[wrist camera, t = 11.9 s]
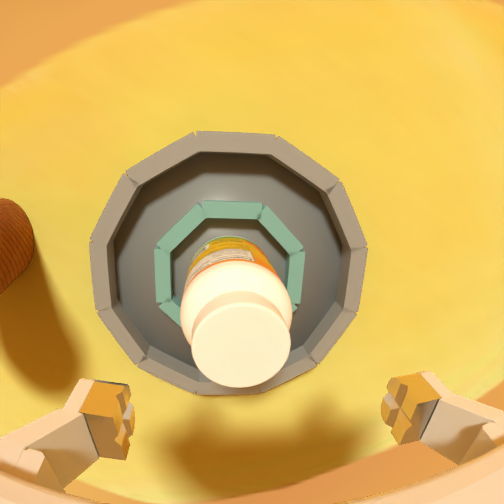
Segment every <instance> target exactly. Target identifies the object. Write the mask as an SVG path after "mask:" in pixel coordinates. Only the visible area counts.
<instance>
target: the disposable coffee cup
mask: <svg viewBox="0 0 504 504" xmlns="http://www.w3.org/2000/svg"><path fill="white" fill-rule="evenodd" d="M33 248H34V239H33V232H32V228H31V224H30V222H29V220H28V218H27V215H26V214H25V212H24V211H23V210H22V208H21V207H20V206H19V205H18V204H16V203H15V202H13V201H11V200H9V199H4V198H1V199H0V294H1V293H2V292H3V291H4V290H5V289H6V288H7V287H8V286H9V285H10V284H11V283H12V282H13V281H14V280H15V279H16V278H17V277H18V276H19V275H20V274H21V273H22V272H23V271H24V270H25V269H26V268H27V266H28V265H29V263H30V261H31V258H32V254H33Z"/></svg>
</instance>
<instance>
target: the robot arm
mask: <svg viewBox="0 0 504 504" xmlns="http://www.w3.org/2000/svg"><path fill="white" fill-rule="evenodd" d="M387 390H388V392H389V393H388V394H387V395H386V396H385V397H384V398H383V400H382V404H381V415H382V419H383V420H384V422H385V424H387V425H389V426H391V427H392V430H391V433H392V435H393V437H394V438H395V440H396V441H397V443H398V445H402V444H406V443H410V442H414V441H418V440H420V442H422V443H424V444H425V445H427V446H428V447H430V448H431V449H433V450H435V451H436V452H438V453H440V454H441V455H443V456H444V457H446V458H448V459H450V460H451V461H453V462H454V463H456V464H458V466H457V467H454V468H452V469H450V470H447V471H445V472H442V473H440V474H437V475H434V476H432V477H429V478H426V479H424V480H421V481H418V482H415V483H412V484H409V485H406V486H403V487H400V488H397V489H393V490H390V491H386V492H383V493H379V494H375V495H371V496H367V497H364V498H360V499H355V500H350V501H346V502H341V503H336V504H504V411H502V410H499V409H496V408H493V407H491V406H488V405H485V404H482V403H480V402H477V401H474V400H472V399H469V398H466V397H464V396H461V395H458V394H456V395H454V394H453V393H452V392H451V391H450V390H449V389H448V388H447V387H446V386H445V385H444V384H443V383H442V382H441V381H440V380H439V379H438V378H437V377H436V376H435V375H434V374H433V373H432V372H431V371H423V372H419V373H416V374H410V375H405V376H399V377H393V378H391V379H390V381H389V382H388V385H387ZM130 397H131V392H130V388H129V386H128V385H127V384H122V383H114V382H107V381H101V380H93V379H87V378H81V379H79V381H78V382H77V384H76V386H75V388H74V389H73V391H72V393H71V395H70V396H69V398H68V400H67V402H66V403H65V405H64V407H63V409H56V410H54V411H53V412H51V413H49V414H47V415H45V416H43V417H41V418H39V419H37V420H35V421H33V422H31V423H29V424H27V425H25V426H23V427H21V428H19V429H17V430H15V431H13V432H11V433H9V434H7V435H4V436H2V437H1V438H0V504H109V503H104V502H99V501H95V500H90V499H85V498H82V497H78V496H74V495H70V494H66V492H65V490H64V489H63V488H65V487H66V486H67V485H68V484H69V483H71V482H72V480H74V479H75V478H76V477H78V476H79V475H80V474H81V473H82V472H84V471H85V470H86V469H87V468H88V467H89V466H91V465H92V464H93V463H94V462H95V461H96V460H97V459H99V457H105V458H112V459H119V460H126V458H127V454H128V450H129V447H130V443H129V439H128V437H130V436H131V435H133V431H134V425H135V413H134V407H133V405H132V404H131V403H130V402H129V400H130Z"/></svg>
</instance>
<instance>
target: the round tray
mask: <svg viewBox="0 0 504 504" xmlns="http://www.w3.org/2000/svg"><path fill="white" fill-rule="evenodd" d="M221 236H238V237H242V238H245V239H248V240H250V241H252V242H253V243H254V244H256V245H257V246H258V247H259V248H260V249H261V250H262V251H263V253H264V254H265V255H266V257H267V258H268V260H269V262H270V263H271V265H272V266H273V268H274V270H275V271H276V273H277V275H278V276H279V278H280V280H281V281H282V283H283V285H284V286H285V288H286V290H287V292H288V295H289V297H290V300H291V305H292V322H291V326H290V329H289V333H290V339H291V346H290V352H289V356H288V358H287V360H286V362H285V364H284V365H283V367H282V368H281V369H280V370H279V371H278V373H276V374H275V375H274V376H273V377H272V378H270V379H268V380H267V381H265V382H263V383H261V384H258V385H255V386H251V387H243V388H235V387H228V386H223V385H220V384H218V383H216V382H213V381H212V380H210V379H209V378H207V377H206V376H205V375H204V374H203V373H202V372H201V371H200V370H199V369H198V367H197V365H196V364H195V361H194V359H193V356H192V350H191V345H190V344H189V343H188V341H187V339H186V338H185V335H184V333H183V330H182V327H181V321H180V307H181V301H182V297H183V292H184V288H185V283H186V279H187V274H188V269H189V266H190V263H191V261H192V258H193V257H194V255H195V253H196V252H197V251H198V250H199V248H200V247H202V246H203V245H204V244H205V243H207V242H208V241H210V240H212V239H214V238H217V237H221ZM90 239H91V240H92V241H90V242H89V248H90V262H91V273H92V283H93V292H94V301H95V308H96V310H99V311H98V312H97V314H98V315H99V317H100V318H101V320H102V321H103V323H104V324H105V325H106V327H107V328H108V330H109V331H110V332H111V334H112V335H113V337H114V338H115V339H116V341H117V342H118V343H119V345H120V346H121V347H122V349H123V350H124V351H125V353H126V354H127V355H128V357H129V358H130V359H131V361H132V362H133V363H134V364H135V365H136V364H138V366H137V367H139V368H140V369H142V370H144V371H146V372H148V373H150V374H152V375H154V376H156V377H158V378H160V379H162V380H165V381H167V382H169V383H171V384H173V385H175V386H177V387H179V388H182V389H184V390H186V391H188V392H190V393H193V394H194V393H195V392H196V393H197V395H242V394H259V390H260V392H261V393H263V392H265V391H267V390H270V389H272V388H274V387H276V386H278V385H280V384H282V383H284V382H286V381H288V380H290V379H292V378H294V377H296V376H298V375H300V374H302V373H304V372H306V371H308V370H310V369H312V368H314V367H316V366H317V365H316V363H318V364H320V362H321V361H322V360H323V359H324V357H325V356H326V355H327V354H328V352H329V351H330V350H331V348H332V347H333V346H334V345H335V343H336V342H337V341H338V339H339V338H340V337H341V335H342V334H343V333H344V331H345V330H346V329H347V327H348V326H349V325H350V323H351V322H352V320H353V319H354V318H355V316H356V315H357V314H356V313H355V312H358V310H359V304H360V298H361V292H362V285H363V279H364V272H365V265H366V258H367V250H368V248H367V247H365V246H367V242H366V240H365V237H364V235H363V232H362V230H361V227H360V225H359V222H358V220H357V217H356V215H355V212H354V210H353V207H352V205H351V203H350V200H349V198H348V195H347V193H346V191H345V188H344V186H343V184H342V182H340V181H339V178H337V177H336V176H335V175H333V174H332V173H331V172H329V171H328V170H327V169H325V168H324V167H323V166H321V165H320V164H318V163H317V162H316V161H314V160H313V159H311V158H310V157H309V156H307V155H306V154H304V153H303V152H302V151H300V150H299V149H297V148H296V147H294V146H293V145H291V144H290V143H289V142H287V141H286V140H284V139H283V138H281V137H280V136H278V137H276V138H275V135H272V134H258V133H241V132H217V131H197V136H195V134H194V133H193V132H192V133H190V134H188V135H186V136H185V137H183V138H181V139H179V140H177V141H175V142H174V143H172V144H170V145H168V146H167V147H165V148H163V149H161V150H160V151H158V152H156V153H154V154H153V155H151V156H149V157H148V158H146V159H144V160H143V161H141V162H139V163H138V164H136V165H134V166H133V167H131V168H129V169H128V170H126V173H125V174H122V176H121V178H120V180H119V182H118V184H117V185H116V187H115V189H114V191H113V193H112V195H111V197H110V199H109V201H108V203H107V204H106V206H105V208H104V210H103V212H102V214H101V216H100V218H99V220H98V223H97V225H96V227H95V229H94V231H93V233H92V235H91V237H90ZM315 362H316V363H315Z"/></svg>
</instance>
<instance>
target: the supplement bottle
mask: <svg viewBox="0 0 504 504" xmlns="http://www.w3.org/2000/svg"><path fill="white" fill-rule="evenodd" d="M180 321H181V327H182V330H183V333H184V335H185V338H186V339H187V341H188V343H189V344H190V345H191V350H192V356H193V359H194V361H195V364H196V365H197V367H198V369H199V370H200V371H201V372H202V373H203V374H204V375H205V376H206V377H207V378H209V379H210V380H212V381H213V382H216V383H218V384H220V385H223V386H228V387H235V388H243V387H251V386H255V385H258V384H261V383H263V382H265V381H267V380H268V379H270V378H272V377H273V376H274V375H275V374H276V373H278V371H279V370H280V369H281V368H282V367H283V365H284V364H285V362H286V360H287V358H288V356H289V352H290V346H291V339H290V333H289V329H290V326H291V322H292V305H291V300H290V297H289V295H288V292H287V290H286V288H285V286H284V285H283V283H282V281H281V280H280V278H279V276H278V275H277V273H276V271H275V270H274V268H273V266H272V265H271V263H270V262H269V260H268V258H267V257H266V255H265V254H264V253H263V251H262V250H261V249H260V248H259V247H258V246H257V245H256V244H254V243H253V242H252V241H250V240H248V239H245V238H242V237H238V236H221V237H217V238H214V239H212V240H210V241H208V242H207V243H205V244H204V245H203V246H202V247H200V248H199V250H198V251H197V252H196V253H195V255H194V257H193V258H192V261H191V263H190V266H189V269H188V274H187V279H186V283H185V288H184V292H183V297H182V301H181V307H180Z"/></svg>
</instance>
